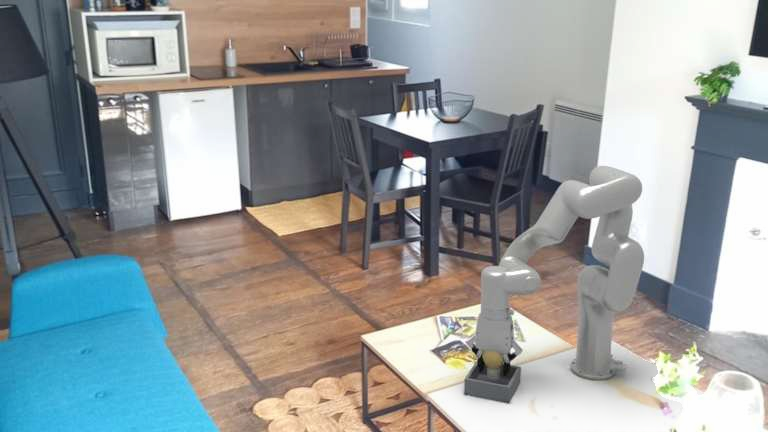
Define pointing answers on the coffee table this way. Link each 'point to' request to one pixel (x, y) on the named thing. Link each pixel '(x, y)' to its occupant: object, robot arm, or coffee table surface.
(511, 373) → the bin
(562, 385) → the coffee table surface
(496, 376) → the light bulb
